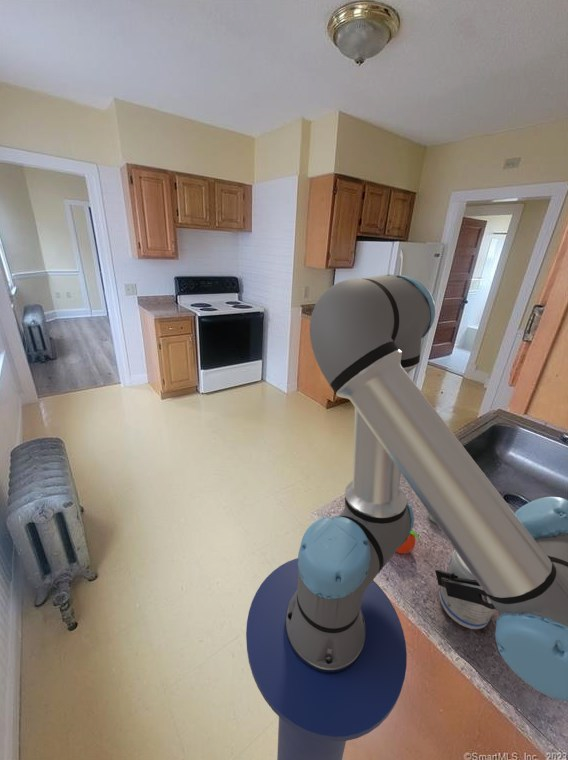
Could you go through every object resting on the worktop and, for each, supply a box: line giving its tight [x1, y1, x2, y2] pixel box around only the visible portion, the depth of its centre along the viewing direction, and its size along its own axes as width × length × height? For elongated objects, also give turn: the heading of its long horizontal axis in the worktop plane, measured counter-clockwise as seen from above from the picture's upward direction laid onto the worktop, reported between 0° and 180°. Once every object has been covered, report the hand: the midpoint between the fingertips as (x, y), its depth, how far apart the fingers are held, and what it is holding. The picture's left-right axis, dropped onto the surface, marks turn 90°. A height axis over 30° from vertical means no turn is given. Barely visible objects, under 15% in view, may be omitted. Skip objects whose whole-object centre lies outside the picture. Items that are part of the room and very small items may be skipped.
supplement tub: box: [438, 548, 496, 630], centre depth 65 cm, size 10×10×15 cm
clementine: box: [395, 529, 421, 554], centre depth 79 cm, size 8×7×7 cm
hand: (460, 574), depth 68 cm, fingers closed on supplement tub, 9 cm apart
